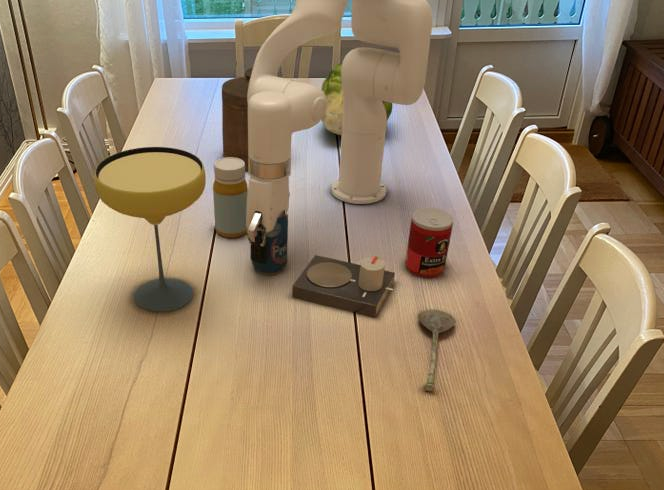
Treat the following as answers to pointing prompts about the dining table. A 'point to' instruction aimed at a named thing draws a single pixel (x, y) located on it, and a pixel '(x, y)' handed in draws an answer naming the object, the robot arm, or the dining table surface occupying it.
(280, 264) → the soda can
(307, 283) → the hob
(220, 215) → the bottle
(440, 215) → the canned food
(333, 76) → the lettuce
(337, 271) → the burner ring
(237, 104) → the wooden container
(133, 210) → the cocktail glass
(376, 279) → the hob knob
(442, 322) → the soupspoon
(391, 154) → the dining table surface
